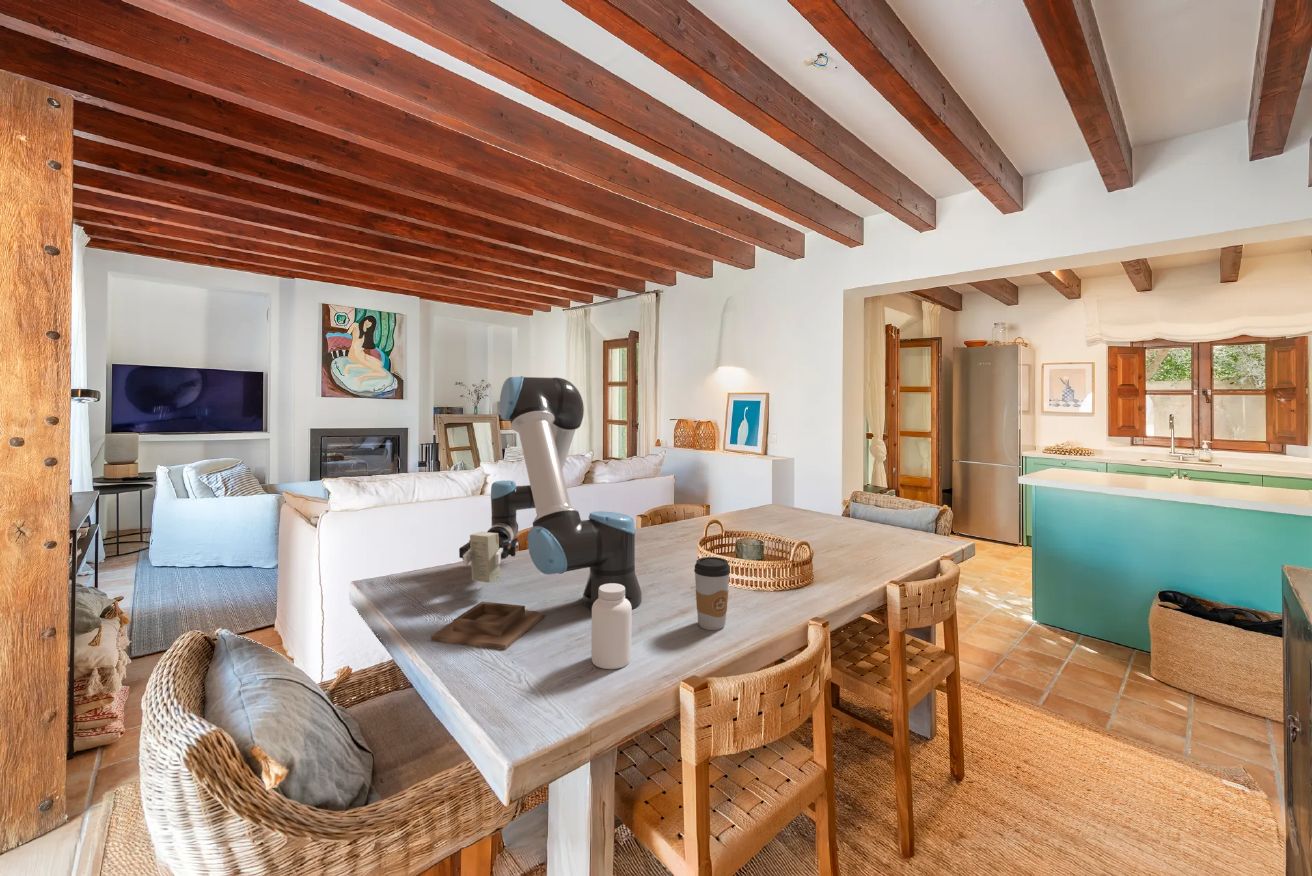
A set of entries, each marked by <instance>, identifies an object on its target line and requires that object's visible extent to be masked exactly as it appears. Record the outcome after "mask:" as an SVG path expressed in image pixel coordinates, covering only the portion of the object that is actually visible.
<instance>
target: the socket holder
mask: <svg viewBox="0 0 1312 876" xmlns="http://www.w3.org/2000/svg"><path fill="white" fill-rule="evenodd" d="M544 617H545V611H537V610H526V606H525V605H521V604H519V605H518V604H509V603H501V602H500V603H499V602H491V601H480V602H479V603H477V604H475V605H474V606H473V607H471V608H469V609H468V610H467V611H465V612H464V613H462V614H460V615H459V616H457V617H456V618H454V619H453V620H452V621H451V622H450V623H448V624H446V625H445V626H444V627H442V628H441V629H439V630H438V631H435V632H434V633H433V634H431V635H430V640H431V641H432V642H433V641H434V642H441V643H450V644H458V645H459V644H460V645H466V646H474V647H480V646H481V647H480V648H488V647H489V649H490V648H491V649H496V648H500V649H499V650H504V649H505V650H507V649H508V648H509V647H510V646H511V644H512V645H513V644H514V643H515V642H516V641H517V640H519V639H520V638H521V637H523V635H524V634H525V633H527V632H528V631H529V630H530V629H532V627H533V626H534V624H535V625H536V624H537V623H538V622H539V621H540V620H542V619H543V618H544ZM526 631H527V632H526Z"/></svg>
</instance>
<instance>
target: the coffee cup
mask: <svg viewBox="0 0 1312 876" xmlns="http://www.w3.org/2000/svg"><path fill="white" fill-rule="evenodd" d="M730 574H731V566H730V564H729V561H728V560H727V559H725V558H723V557H719V556H718V557H716V556H705V557H700V558H697V559H696V563H695V564H694V578H695V579H694V580H695V596H696V597H695V601H696V610H697V611H696V612H697V613H696V614H697V622H698V623H697V624H698V625H699V627H700V628H702V629H704V630H708V631H718V630H722V629H724V628H725V626H726V623H727V622H726V621H727V612H728V602H729V600H728V599H729V583H730Z"/></svg>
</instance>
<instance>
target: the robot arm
mask: <svg viewBox="0 0 1312 876" xmlns="http://www.w3.org/2000/svg"><path fill="white" fill-rule="evenodd" d="M499 395H500V397H499V416H500V417H501V419H502V420H504V421H509V422H510V427H511V429H512V430H513V431H514V432H516V433H518V436H519V439H520V440H519V441H520V444H521V448H522V450H521V451H522V454H523V457H524V462H525V463H524V464H525V468H526V472H527V477H528V479H529V485H517V484H516V482H515V481H514V480H496V481H494V482H492V484H491V486H490V487H491V489H490V505H491V506H490V507H491V508H490V509H491V510H490V512H491V518H490V519H491V527H490V528H489V529H488V530H487V531H486V532H490V533H498V537H499V550H498V552H497V553H496V554H495V561H496V565H499V564H500V565H501V562H502V560H504V559H506V558H508V557H509V556H510V557H515V556H516V554H517V549H518V548H519V538H516V537H517V534H518V532H519V523H518V521H517V511H520V510H529V509H535V513H536V517H535V518H534V520H533V521H532V527H531V528H530V530H529V531H528V534H527V541H528V543H527V548H528V552H529V556H530V559H531V561H532V562H533V565H534V566H535V568H536V569H537V570H539V572H540V573H542V574H544V575H555V574H559V575H560V574H564V573H566V572H567V573H568V572H571V571H576V570H582V569H587V568H589V575H588V577H587V579H586V580H587V581H586V584H585V587H584V591H583V593H582V598H583V599H582V601H583V602H582V603H583V604H582V605H583V606H584V607H585V608H587V609H589V610H591V611H592V606H593V603H594V602H595V601H596V600H597V599H599V595H598V589H599V587H600V586H601V585H604V584H609V583H616V584H621V585H623V586H624V587H625V598H626V599H627V600H628V601H629V602H630V603H631V607H632V610H634V609H635V608H637V607H639V606H640V605H641V604H642V598H643V597H642V596H643V595H642V590H641V586H640V583H639V581H638V577H637V575H636V566H635V565H636V553H635V552H636V527H635V525H636V524H635V521H634V518H633V517H632V516H631V515H628V514H624V513H620V512H616V511H615V512H614V511H603V510H602V511H591V512H590V513H589V514H588V519H581V517H580V516H581V515H580V513H579V510H577V509H576V508H575V507H572V505H571V502H570V501H571V500H570V498H569V492H568V490H567V489H568V488H567V485H566V481H565V478H564V477H565V475H564V472H563V468H564V467H565V466H564V465H565V462H566V459H567V457H568V455H569V450H570V448H571V445H572V442H573V439H574V435H575V433H576V430H578V429H579V428H580V427H581V425H582V424H583V423H582V422H583V419H584V414H585V408H584V401H583V397H582V395H581V393H580V391H579V390H578V388H577V387H576V386H575V385H574V384H573V383H572V382H571V381H570V380H567V379H565V378H562V377H533V376H531V377H528V376H523V375H521V376H511V377H508V378H506V379H505V381H504V382H503V384H502V387H501V391H500V394H499ZM509 546H510V547H509ZM458 552H459V553H458V554H459V558H460V559H462V565H463V567H467V566H468V565H469V564H470V563H471V548H470V539H469V540H468V542H467V543H465V544H463V546H461V547H459V550H458Z"/></svg>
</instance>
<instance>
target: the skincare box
mask: <svg viewBox="0 0 1312 876" xmlns="http://www.w3.org/2000/svg"><path fill="white" fill-rule="evenodd" d="M469 540H470V548H471V561H470V566H471V581H474V582H484V583H488V584H489V583H492V582H495V581H497V580H499V579H501V566H500V565H501V563H500V564H499V565H496V561H495V554H496V553H497V552H498V550H499V537H498V533H490V532H487V531H479V532H476V533H472V534H469Z"/></svg>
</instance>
